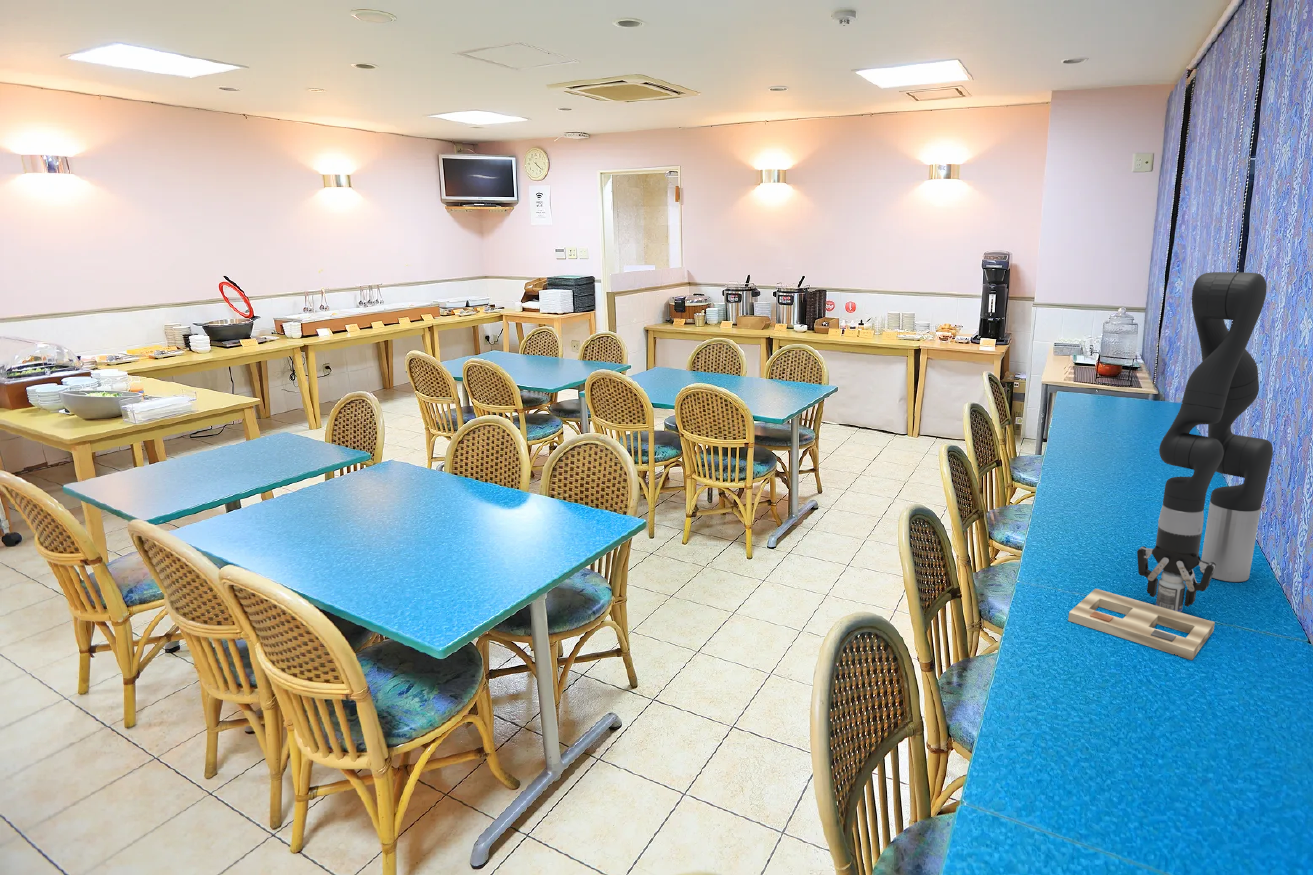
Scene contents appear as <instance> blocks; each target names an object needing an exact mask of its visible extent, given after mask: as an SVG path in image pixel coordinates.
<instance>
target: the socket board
mask: <svg viewBox="0 0 1313 875" xmlns="http://www.w3.org/2000/svg"><path fill="white" fill-rule="evenodd" d="M1098 608H1102V609H1106V610H1109V611H1111V612H1115V613H1120V614H1123V615H1125V616H1124V617H1122V618H1121V617H1118V616H1114V615H1110V614H1107V613H1105V612H1101V611H1098ZM1067 621H1068V622H1071V623H1074V624H1077V625H1081V626H1084V627H1086V628H1090V629H1093V630H1096V631H1100V632H1103V633H1104V634H1105V633H1106V634H1109V635H1112V636H1115V637H1118V638H1121V639H1123V640H1127V641H1131V642H1134V643H1137V644H1140V645H1143V646H1147V647H1148V648H1149V647H1150V648H1152V649H1156V650H1159V651H1161V652H1166V653H1168V654H1171V655H1174V654H1175V656H1177V655H1178V656H1177V657H1180V658H1184V659H1187V660H1190V661H1193V660H1194V658H1195V657H1196V656H1197V654H1198V653H1199V651H1200V650H1201V649H1202V647H1203V646H1204V645H1205V643H1206V642H1207V641H1208V639H1209V638H1210V636H1211V635H1212V634H1213V633H1214V630H1215V623H1216V622H1215V621H1213V620H1208V619H1204V618H1201V617H1198V616H1194V615H1190V614H1187V613H1184V612H1182V611H1181V612H1177V611H1174V610H1170V609H1166V608H1163V607H1159V606H1156V604H1151V603H1148V602H1145V601H1141V600H1137V599H1134V598H1131V597H1128V596H1124V595H1119V594H1116V593H1114V592H1113V593H1112V592H1110V591H1105V590H1102V589H1099V588H1094V589H1093V590H1092V591H1091V592H1090V593H1089V594H1087V596H1086V597H1085V598H1083V599H1082V600H1081V601H1080V602H1079V603H1078V604H1077V605H1076V606H1074V607H1073V608H1072V609H1070V611H1069V612H1068V620H1067ZM1157 625H1160V626H1163V627H1166V628H1170V629H1172V630H1176V631H1180V632H1183V633H1187V634H1188V635H1187V636H1186V637H1184V636H1180V635H1177V634H1174V633H1171V632H1167V631H1164V630H1161V629H1158V628H1157V629H1156V628H1155V627H1156V626H1157Z"/></svg>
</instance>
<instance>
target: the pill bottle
mask: <svg viewBox="0 0 1313 875" xmlns="http://www.w3.org/2000/svg"><path fill="white" fill-rule="evenodd" d="M1185 594H1186V583H1185V581H1184V580H1183V578H1182V575H1178V574H1175V573H1173V572H1166V571H1164V570H1162V571H1161V578H1160V579H1158V585H1157V592H1156V600H1155V601H1156V602H1155V605H1156V606H1159V607H1163V608H1166V609H1170V610H1174V611H1177V612H1181V613H1182V611H1183V606H1184V602H1185Z"/></svg>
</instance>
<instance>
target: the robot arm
mask: <svg viewBox="0 0 1313 875" xmlns="http://www.w3.org/2000/svg"><path fill="white" fill-rule="evenodd" d="M1267 287H1268V286H1267V282H1266V279H1265V277H1264V276H1263V275H1262V274H1260V273H1258V272H1240V271H1239V272H1233V271H1231V272H1229V271H1228V272H1226V271H1225V272H1223V271H1216V272H1215V271H1213V272H1211V271H1210V272H1206V273H1202V274H1200V275H1199V276H1198V277H1197V278H1196V280H1195V282H1193V287H1192V290H1191V308H1192V314H1193V319H1194V323H1195V327H1196V331H1197V335H1198V340H1199V344H1200V353H1201V362H1200V364H1198V366H1197V367H1196V368H1195V369H1194V370H1193V372H1191V374H1190V376H1189V377H1188V380H1187V382H1186V385H1185V388H1184V393H1183V397H1182V401H1181V405H1180V407H1179V410H1178V413H1177V415H1176V416H1175V419H1174V420H1173V422H1172V423H1171V425H1170V427H1169V429H1168V430H1167V431H1166V433H1165V435H1164V436H1163V438H1162V439H1161V442H1160V444H1159V448H1158V452H1159V453H1158V454H1159V457H1160V459H1161V461H1163V462H1164V463H1165V464H1167V465H1169V466H1174V467H1178V468H1179V467H1180V468H1184V469H1189V470H1193V474H1192V476H1173V477H1171V478H1168V479H1167V480H1166V481H1165V486H1164V491H1163V498H1162V499H1163V500H1162V507H1161V509H1160V513H1159V517H1158V521H1157V524H1158V525H1157V533H1156V540H1155V546H1154V547H1153V548H1149V547H1148V548H1147V547H1146V546H1142V545H1141V547H1139V549H1137V551H1136V553H1137V554H1136V556H1137V571H1138V575H1139V576H1141V577H1145V578H1146V579H1147V586H1146V592H1147V594H1149V597H1150V598H1155V597H1156V596H1157V591H1158V582H1159V579H1158V577H1159V575H1160V574H1161V573H1162V571H1163V570H1164V571H1166V572H1173V573H1175V574H1178V575H1182V578H1183V580H1184V583H1185V587H1186V588H1187V589H1185V595H1184V602H1183V606H1184V607H1188V608H1189V607H1190V605H1191V606H1192V605H1193V604H1194V602H1195V601H1196V596H1197V592H1199V591H1200V592H1205V591H1206V590H1207V588H1208V587H1209V585H1210V583H1211V581H1212V578H1213V579H1216V580H1219V581H1224V582H1231V583H1241V582H1246V581H1248V580H1249V578H1250V574H1251V568H1252V563H1253V556H1254V550H1255V546H1256V539H1257V538H1256V537H1257V533H1258V526H1259V522H1260V521H1259V520H1260V514H1261V510H1262V503H1263V499H1264V496H1265V490H1266V487H1267V480H1268V477H1269V473H1270V468H1271V465H1272V460H1273V455H1274V454H1273V453H1274V449H1273V448H1274V447H1273V444H1272V442H1271V441H1270V440H1268V439H1264V438H1260V437H1253V436H1247V435H1246V436H1245V435H1239V434H1235V433H1232V429H1231V428H1232V427H1231V426H1232V424H1234V422H1236V421H1235V420H1236V419H1238V417H1240V416H1241V415H1242V414H1243V413H1244V412H1245V411H1246V410H1247V409H1248V408H1249V407H1250V406H1251V405H1253V403H1254V402H1255V400H1256V399H1257V397H1258V396H1259V395H1258V394H1259V390H1260V388H1259V386H1260V383H1259V382H1260V381H1259V369H1258V368H1259V367H1258V365H1257V362H1256V360H1255V359H1254V358H1253V356H1252V355H1251V353H1250V352H1249V351H1248V350H1247V349H1246V348H1247V346H1248V343H1249V342H1250V339H1251V336H1252V334H1253V332H1254V329H1255V327H1256V324H1257V323H1258V320H1259V317H1260V315H1261V313H1262V310H1263V307H1264V304H1265V299H1266V296H1267ZM1225 320H1228V321H1229V320H1231V321H1232V323H1231V326H1230V329H1228V327H1227V325H1226V322H1225ZM1200 425H1208V426H1207V428H1208V429H1207V430H1208V431H1207V436H1205V435H1200V434H1195V433H1194V434H1193V433H1191V431H1192V430H1193V429H1194V428H1195V427H1196V426H1200ZM1216 473H1219V474H1223V475H1227V476H1233V477H1239V478H1244V480H1243V483H1242V484H1237V485H1227V486H1221V487H1216V488H1214V489H1213V490H1211V493H1210V494H1211V495H1210V500H1209V505H1208V511H1207V513H1208V514H1207V519H1206V527H1205V531H1204V532H1205V534H1204V540H1203V545H1202V546H1203V547H1202V553H1201V557H1200V548H1201V540H1202V534H1203V527H1204V521H1205V516H1204V510H1205V505H1206V497H1207V492H1208V488H1209V487H1210V484H1211V482H1212V480H1213V477H1214V475H1215V474H1216ZM1151 555H1152V556H1153V558H1154V560H1155V562H1157V565H1156V566H1155V567H1154V568H1153V570H1150V569H1149V558H1151ZM1198 566H1199V570H1200V572H1201V573H1202V577H1201V580H1200V582H1197V580H1196V577H1195V576H1196V574H1195V572H1194V568H1196V567H1198Z"/></svg>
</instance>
